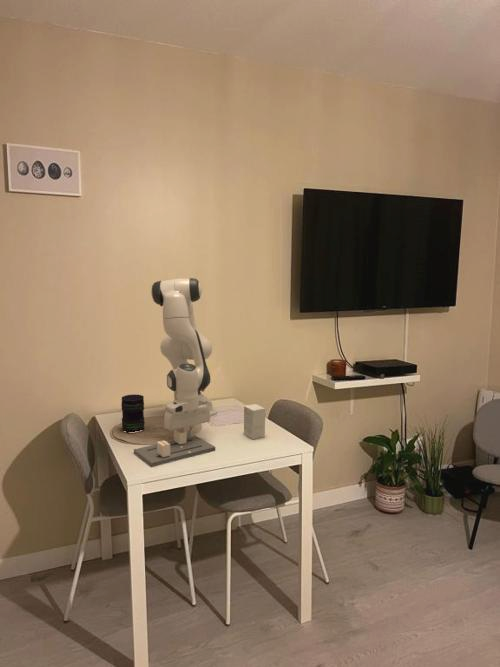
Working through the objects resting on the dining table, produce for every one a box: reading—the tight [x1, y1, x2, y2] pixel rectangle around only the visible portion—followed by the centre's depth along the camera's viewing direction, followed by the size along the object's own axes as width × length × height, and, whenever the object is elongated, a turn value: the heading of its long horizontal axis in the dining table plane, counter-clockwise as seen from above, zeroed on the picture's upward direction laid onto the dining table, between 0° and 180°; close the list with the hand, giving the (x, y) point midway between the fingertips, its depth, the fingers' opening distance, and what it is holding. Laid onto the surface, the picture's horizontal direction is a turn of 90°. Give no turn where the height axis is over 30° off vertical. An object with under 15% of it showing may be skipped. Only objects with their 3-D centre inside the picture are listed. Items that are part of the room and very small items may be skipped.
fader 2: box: [173, 428, 186, 444], centre depth 204 cm, size 3×5×5 cm, turn 37°
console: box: [133, 435, 216, 468], centre depth 199 cm, size 28×16×2 cm, turn 127°
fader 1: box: [156, 440, 170, 457], centre depth 191 cm, size 3×5×5 cm, turn 37°
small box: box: [243, 403, 266, 440], centre depth 217 cm, size 8×6×13 cm
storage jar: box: [121, 394, 145, 432], centre depth 223 cm, size 10×10×15 cm
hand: (187, 436), depth 206 cm, fingers closed
